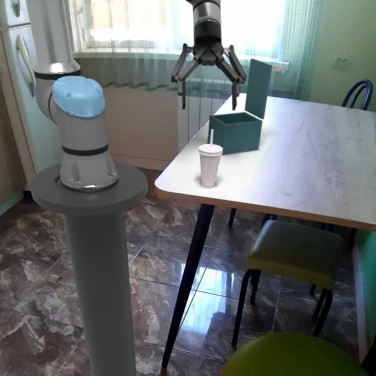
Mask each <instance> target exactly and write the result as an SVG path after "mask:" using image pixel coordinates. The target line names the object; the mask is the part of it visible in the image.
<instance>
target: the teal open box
mask: <svg viewBox="0 0 376 376" xmlns="http://www.w3.org/2000/svg"><path fill="white" fill-rule="evenodd" d="M211 129H213V142H212V144H214V145H218V146H220V147H222V148H223V151H222V152H223V153H222V154H221V155H223V156H224V155H230V154H237V153H245V152H252V151H258V150H259V149H260V141H261V137H262V136H261V135H262V129H263V119H260V118H258V117H256V116H254V115H252V114H251V113H249V112H247V111H241V112H232V113H231V112H230V113H222V114H221V113H220V114H212V115H211V114H210V115H209V116H208V131H207V144H210V140H211Z"/></svg>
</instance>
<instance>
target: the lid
mask: <svg viewBox="0 0 376 376" xmlns="http://www.w3.org/2000/svg"><path fill="white" fill-rule="evenodd" d="M286 71H287V69H286V67H285V66H283V65H280V64H277V63H273V64H270V63H267V62H264V61H262V60H258V59H255V58H250V64H249V71H248V77H247V78H248V79H247V87H246V94H245V101H244V112H246V113H248V114H250V115H252V116H254V117H256V118H258V119H260V120H264V119H265V115H266V109H267V103H268V97H269V96H268V95H269V89H270V82H271V76H272V73H280V74H282V75H283V74H285V73H286Z"/></svg>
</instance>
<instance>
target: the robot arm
mask: <svg viewBox="0 0 376 376" xmlns="http://www.w3.org/2000/svg"><path fill="white" fill-rule="evenodd" d="M24 1H25V5H26V6H25V7H26V11H27V15H28V16H27V17H28V20H29V25H30V30H31V35H32V40H33V44H34V50H35V54H36V55H35V56H36V58H37V59H36V62H35V63H34V65H33V67H32V70H33V75H34V80H35V82H34V83H35V84H34V89H33V90H34V91H33V94H34V99H35V101H36V105H37V106H38V109H39V110H40V111H41V113H42V114H43V115H44V116H45V117H46V118H47V119H48V120H49V121H50V122H52V123H53V124H55V126H57V127H58V130H59V137H60V144H61V149H62V158H61V163H60V164H61V170H60V174H59V175H58V176H57V177H56V178H55V179H54V181H55V182H57V181H58V180H59V179H60V181H61V184H62V186H63V187H65V188H66V189H69V190H71V191H76V192H85V193H90V192H99V191H104V190H107V189H110V188H112V187H114V186H115V185H116V184H117V183H118V173H117V170H116V167H115V165H114V162H113V161H114V160H113V157H112V155H111V153H110V148H109V137H108V126H107V125H108V124H107V114H106V113H107V112H106V99H105V95H104V90H103V87H102V86H101V84H100V83H99V82H97V81H96V80H95V79H92V78H87V77H85V76H82V69H81V65H80V63H78V62H77V61H76V60H75V59H74V56H73V51H72V45H71V38H70V37H71V36H70V32H69V23H68V18H67V11H66V4H65V0H24ZM184 1H186V2H187V3H189V4H190V5H191V6H192V22H193V24H192V25H193V46H189V45H188V44H187V43H186V42H184V43H183V44H182V50H181V53H180V55H179V57H178V59H177V60H176V63H175V65H174V67H173V69H172V71H171V74H170V82H171V83H176V85H177V95H178V96H179V97H181V109H182V110H184V111H185V110H186V106H187V98H186V97H187V95H186V94H187V93H186V90H187V89H186V80H187V78H189V76H190V75H191V74H192V73H193V72H194V71H195V70H196V69H197V68H198V67H199V66H200V65H201V66H202V67H207V66H209V67H214V66H215V67H217V69H218V70H221V72H222V73H223V74H224V75H225V76H226V78H227V79H228V80H229V81H230V83H231V111H234V112H235V111H236V109H237V106H238V98H239V97H240V94H241V85H245V84H246V81H247V78H248V75H247V74H246V72H245V70H244V68H243V65H242V63H241V62H240V60H239V59H238V56H237V54H236V52H235V46H234V45H233V44H229V46H228V47H224V46H223V40H222V39H223V38H222V9H221V7H222V6H221V5H222V2H221V0H184ZM190 54H192V56H193V58H192V59H191V60H190V62H189V63H188V64H187V65H186V66H185V68H183V66H184V65H185V63H186V60H187V58H188V57H189V56H190ZM224 55H225V57H226V58H227V59H228V62H229V63H230V64H229V63H228V62H227V60H225V57H224ZM182 69H183V70H182Z"/></svg>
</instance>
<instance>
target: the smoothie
mask: <svg viewBox="0 0 376 376" xmlns="http://www.w3.org/2000/svg"><path fill="white" fill-rule="evenodd" d="M212 142H213V129H211V140H210V144H208V143H204V144H201V145H199V146H198V151H197V152H198V153H199V164H200V165H199V166H200V183H201V186H202V187H205V188H212V187H215V185H216V181H217V175H218V170H219V166H220V162H221V156H222V155H223V154H222V153H223V152H222V151H223V148H222V147H220V146H218V145H214V144H212Z"/></svg>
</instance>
